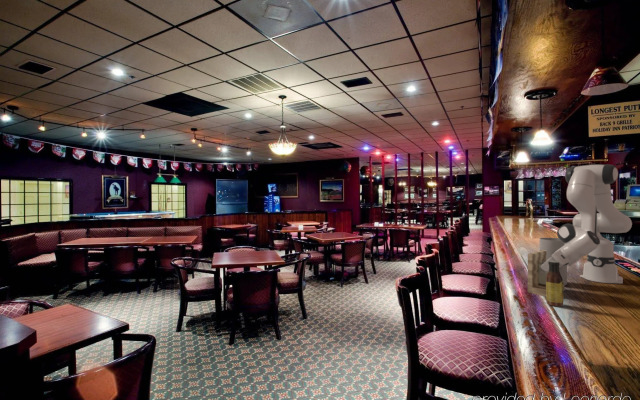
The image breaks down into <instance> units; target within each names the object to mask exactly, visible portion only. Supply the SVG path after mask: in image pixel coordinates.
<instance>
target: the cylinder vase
mask: <svg viewBox="0 0 640 400" xmlns="http://www.w3.org/2000/svg"><path fill="white" fill-rule="evenodd" d="M564 245H565V243H564V242H562V241H561V240H560V239H559V238H558V237H539V251H540V250H547V257H546V261H547V260H548V259H549V258H551V257H552V256H551V255H552V254H554V253H555V251H557V250H558V249H560V248H561V247H562V246H564ZM559 272H560V274H561V276H562V279H563V282H564V286H566V285H567V284H568V265H566V266H562V267H559Z"/></svg>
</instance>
